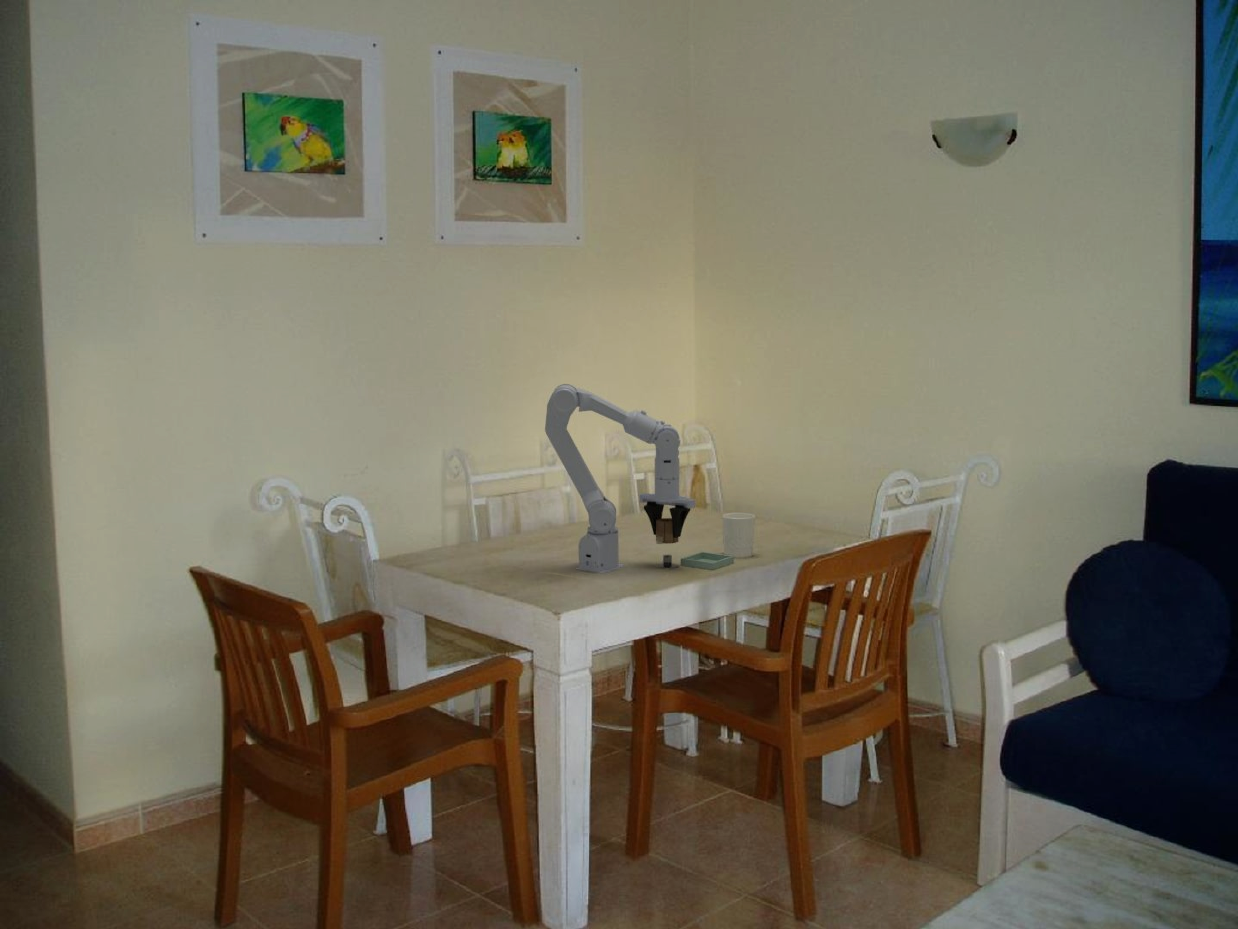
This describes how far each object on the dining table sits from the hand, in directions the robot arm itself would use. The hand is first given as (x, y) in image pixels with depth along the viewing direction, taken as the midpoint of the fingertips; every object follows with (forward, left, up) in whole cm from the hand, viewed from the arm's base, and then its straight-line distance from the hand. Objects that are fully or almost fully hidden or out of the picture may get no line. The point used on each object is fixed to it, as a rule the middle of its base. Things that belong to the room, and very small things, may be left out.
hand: (667, 535), depth 299 cm
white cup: (+20, -7, -8) cm, 23 cm away
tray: (+7, -7, -8) cm, 12 cm away
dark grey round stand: (0, 0, -8) cm, 8 cm away
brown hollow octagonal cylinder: (0, 0, -1) cm, 1 cm away
